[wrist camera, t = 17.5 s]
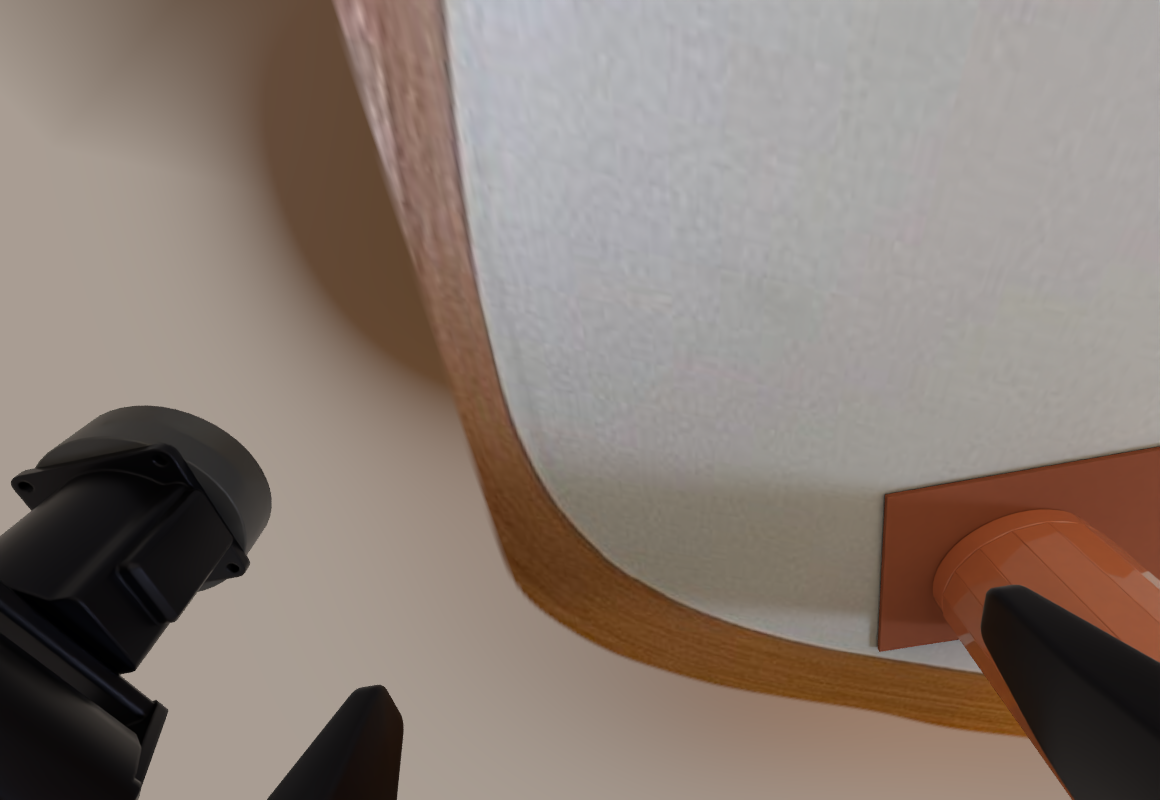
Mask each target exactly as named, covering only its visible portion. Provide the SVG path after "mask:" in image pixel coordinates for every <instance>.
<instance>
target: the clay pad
mask: <svg viewBox="0 0 1160 800" xmlns="http://www.w3.org/2000/svg"><path fill="white" fill-rule="evenodd" d="M1036 509H1053V510H1061V511H1065V512H1070V513H1072V514H1075V515H1077V516H1080V517H1081V518H1083V519H1085V520H1086V521H1087V522H1088V523H1090V524H1091V525H1092V526H1093V527H1094V528H1096V529H1097V530H1098V531H1099V532H1101V533H1103V534H1105V535H1106V536H1107V537H1109V538H1110V539H1111V540H1112V541H1113V542H1115V543H1116V544H1117V545H1118V546H1119V547H1120V548H1122V549H1123V550H1124V551H1125V552H1126V553H1128V554H1129V555H1130V556H1131V557H1132V558H1134V559H1135V560H1136V561H1137V562H1138V563H1139V564H1141V565H1142V566H1143V567H1144V568H1145V569H1147V570H1148V571H1149V572H1150V573H1151V574H1152V575H1154V576H1155V577H1156V578H1157V579H1158V580H1160V447H1154V448H1148V449H1143V450H1137V451H1131V452H1126V453H1120V454H1114V455H1108V456H1103V457H1097V458H1091V459H1085V460H1080V461H1074V462H1068V463H1063V464H1057V465H1051V466H1045V467H1040V468H1034V469H1028V470H1023V471H1017V472H1011V473H1005V474H1000V475H994V476H988V477H983V478H977V479H971V480H965V481H960V482H954V483H948V484H942V485H937V486H931V487H925V488H920V489H914V490H908V491H902V492H897V493H891V494H886V495H885V508H884V528H883V548H882V569H881V589H880V609H879V629H878V650H879V652H881V651H887V650H894V649H900V648H907V647H913V646H920V645H926V644H933V643H939V642H946V641H952V640H959V638H958V637H957V635H956V634H955V632H954V631H953V630H952V628H951V627H950V625H949V624H948V622H947V621H946V620H945V618H944V616H943V614H942V613H941V611H940V610H939V608H938V607H937V605H936V603H935V601H934V598H933V591H932V588H933V580H934V576H935V573H936V571H937V568H938V567H939V565H940V563H941V561H942V560H943V558H944V557H945V556H946V555H947V553H948V552H949V551H950V550H951V549H952V548H953V547H954V546H955V545H956V544H957V543H958V542H959V541H960V540H962V539H963V538H964V537H966V536H967V535H968V534H970V533H971V532H973V531H974V530H976V529H978V528H979V527H981V526H983V525H985V524H987V523H989V522H991V521H993V520H996V519H998V518H1001V517H1003V516H1006V515H1010V514H1013V513H1017V512H1022V511H1027V510H1036Z"/></svg>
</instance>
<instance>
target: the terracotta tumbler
mask: <svg viewBox="0 0 1160 800" xmlns="http://www.w3.org/2000/svg"><path fill="white" fill-rule="evenodd" d="M1007 585H1022V586H1024V587H1027V588H1029V589H1031V590H1032V591H1034V592H1036V593H1038V594H1039V595H1041V596H1043V597H1045V598H1046V599H1048V600H1050V601H1052V602H1054V603H1055V604H1057V605H1059V606H1061V607H1062V608H1064V609H1066V610H1068V611H1069V612H1071V613H1073V614H1075V615H1077V616H1078V617H1080V618H1082V619H1084V620H1085V621H1087V622H1089V623H1091V624H1092V625H1094V626H1096V627H1098V628H1100V629H1101V630H1103V631H1105V632H1107V633H1108V634H1110V635H1112V636H1114V637H1115V638H1117V639H1119V640H1121V641H1123V642H1124V643H1126V644H1128V645H1130V646H1131V647H1133V648H1135V649H1137V650H1138V651H1140V652H1142V653H1144V654H1146V655H1147V656H1149V657H1151V658H1153V659H1154V660H1156V661H1158V662H1160V580H1158V579H1157V578H1156V577H1155V576H1154V575H1152V574H1151V573H1150V572H1149V571H1148V570H1147V569H1145V568H1144V567H1143V566H1142V565H1141V564H1139V563H1138V562H1137V561H1136V560H1135V559H1134V558H1132V557H1131V556H1130V555H1129V554H1128V553H1126V552H1125V551H1124V550H1123V549H1122V548H1120V547H1119V546H1118V545H1117V544H1116V543H1115V542H1113V541H1112V540H1111V539H1110V538H1109V537H1107V536H1106V535H1105V534H1103V533H1101V532H1099V531H1098V530H1097V529H1096V528H1094V527H1093V526H1092V525H1091V524H1090V523H1088V522H1087V521H1086V520H1085V519H1083V518H1081V517H1080V516H1077V515H1075V514H1072V513H1070V512H1065V511H1061V510H1053V509H1036V510H1027V511H1022V512H1017V513H1013V514H1010V515H1006V516H1003V517H1001V518H998V519H996V520H993V521H991V522H989V523H987V524H985V525H983V526H981V527H979V528H978V529H976V530H974V531H973V532H971V533H970V534H968V535H967V536H966V537H964V538H963V539H962V540H960V541H959V542H958V543H957V544H956V545H955V546H954V547H953V548H952V549H951V550H950V551H949V552H948V553H947V555H946V556H945V557H944V558H943V560H942V561H941V563H940V565H939V567H938V568H937V571H936V573H935V576H934V580H933V588H932V591H933V598H934V601H935V603H936V605H937V607H938V608H939V610H940V611H941V613H942V614H943V616H944V618H945V620H946V621H947V622H948V624H949V625H950V627H951V628H952V630H953V631H954V632H955V634H956V635H957V637H958V638H959V639H960V641H961V642H962V644H963V645H964V647H965V648H966V649H967V651H968V652H969V654H970V655H971V657H972V658H973V659H974V661H975V662H976V664H977V665H978V667H979V668H980V669H981V671H982V672H983V674H984V675H985V676H986V678H987V679H988V681H989V682H990V684H991V685H992V686H993V688H994V689H995V691H996V692H997V694H998V695H999V696H1000V698H1001V699H1002V701H1003V702H1004V703H1005V705H1006V706H1007V708H1008V709H1009V711H1010V712H1011V713H1012V715H1013V716H1014V718H1015V719H1016V721H1017V722H1018V723H1019V725H1020V726H1021V728H1022V729H1023V731H1024V732H1025V733H1026V735H1027V736H1028V738H1029V739H1030V740H1031V742H1032V743H1033V745H1034V746H1035V748H1036V749H1037V750H1038V752H1039V753H1040V755H1041V756H1042V757H1043V759H1044V760H1045V762H1046V763H1047V765H1048V766H1049V768H1050V769H1051V770H1052V772H1053V773H1054V774H1055V776H1056V777H1057V779H1058V780H1059V782H1060V783H1061V785H1062V786H1063V787H1064V789H1065V790H1066V792H1067V793H1068V795H1069V796H1070V797H1071V799H1072V800H1074V798H1073V797H1072V795H1071V794H1070V792H1069V791H1068V789H1067V788H1066V786H1065V785H1064V783H1063V782H1062V780H1061V779H1060V777H1059V776H1058V774H1057V773H1056V771H1055V770H1054V768H1053V767H1052V765H1051V763H1050V762H1049V760H1048V759H1047V757H1046V756H1045V754H1044V752H1043V751H1042V749H1041V747H1040V745H1039V743H1038V742H1037V740H1036V738H1035V736H1034V735H1033V733H1032V731H1031V729H1030V727H1029V725H1028V724H1027V722H1026V720H1025V718H1024V716H1023V714H1022V712H1021V710H1020V709H1019V707H1018V705H1017V703H1016V701H1015V699H1014V697H1013V696H1012V694H1011V692H1010V690H1009V688H1008V686H1007V684H1006V683H1005V681H1004V679H1003V677H1002V675H1001V673H1000V671H999V669H998V668H997V666H996V664H995V662H994V660H993V658H992V656H991V655H990V653H989V651H988V649H987V647H986V645H985V643H984V641H983V638H982V635H981V629H980V626H981V619H982V613H983V607H984V602H985V596H986V592H987V591H988V590H989V589H991V588H994V587H1000V586H1007Z"/></svg>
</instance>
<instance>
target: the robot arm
mask: <svg viewBox="0 0 1160 800" xmlns="http://www.w3.org/2000/svg"><path fill="white" fill-rule="evenodd" d="M160 455H162V456H164V457H165V458H166V459H167V460H166V459H164V458H162V457H161V456H160ZM11 485H12V487H13V489H14V490H15V492H16V493H17V494H18V495H19V496H20V497H21V499H23V501H24V502H25V503H26V505H27V506H28V507H29V508H30V509H31V510H32V511H31V512H30V513H28V514H27V515H26V516H25V517H24V518H23V519H21V520H20V521H19V522H17V523H16V524H15V525H14V526H13V527H11V528H10V529H9V530H7V531H6V532H5V533H4V534H2V535H1V536H0V800H138V798H139V796H140V791H141V787H142V784H143V781H144V778H145V775H146V773H147V770H148V767H149V764H150V762H151V759H152V756H153V753H154V750H155V747H156V744H157V742H158V739H159V736H160V733H161V730H162V728H163V724H164V722H165V719H166V716H167V713H168V709H167V708H165V707H164V706H163V705H162V704H161V703H159V702H158V701H157V700H155V701H151V700H150V699H149V698H148V697H146V696H145V695H144V694H143V693H141V692H140V691H139V690H138V689H136V688H135V687H134V686H133V685H131V684H130V683H129V682H128V681H126V680H125V679H124V678H123V677H121V676H120V675H121V674H124V673H130V672H133V671H135V670H136V669H137V667H138V666H139V665H140V663H141V662H142V660H143V659H144V658H145V656H146V655H147V654H148V652H149V651H150V650H151V648H152V647H153V645H154V644H155V643H156V641H157V640H158V639H159V637H160V636H161V634H162V633H163V632H164V630H165V629H166V628H167V626H168V625H169V623H171V622H175V621H176V620H177V619H178V618H179V617H180V615H181V614H182V613H183V611H184V610H185V608H186V607H187V606H188V604H189V603H190V601H191V600H192V599H193V597H194V596H195V595H196V593H197V592H198V590H199V589H200V588H201V586H202V585H203V583H206V582H212V581H218V580H223V579H229V578H234V577H239V576H242V575H243V574H244V573H245V572H246V570H247V568H248V567H249V565H250V561H249V559H248V557H247V556H246V554H245V553H244V551H243V550H242V548H241V546H240V545H239V543H238V542H237V540H236V539H235V537H234V536H233V534H232V533H231V531H230V529H229V528H228V526H227V525H226V523H225V522H224V520H223V519H222V517H221V516H220V514H219V513H218V511H217V509H216V508H215V506H214V505H213V503H212V502H211V500H210V499H209V497H208V496H207V494H206V493H205V491H204V489H203V488H202V486H201V485H200V483H199V482H198V480H197V479H196V477H195V476H194V474H193V472H192V471H191V469H190V468H189V466H188V465H187V463H186V462H185V460H184V459H183V457H182V456H181V454H180V452H179V451H178V450H177V449H176V448H175V447H173V446H172V445H169V444H166V443H159V444H154V445H149V446H144V447H139V448H134V449H129V450H124V451H119V452H114V453H109V454H104V455H99V456H94V457H89V458H84V459H79V460H74V461H69V462H64V463H59V464H54V465H49V466H45V467H40V468H35V469H30V470H25V471H23V472H21V473H20V474H18V475H17V476H16V477H14V478H13V479H12V481H11ZM980 629H981V635H982V638H983V641H984V643H985V645H986V647H987V649H988V651H989V653H990V655H991V656H992V658H993V660H994V662H995V664H996V666H997V668H998V669H999V671H1000V673H1001V675H1002V677H1003V679H1004V681H1005V683H1006V684H1007V686H1008V688H1009V690H1010V692H1011V694H1012V696H1013V697H1014V699H1015V701H1016V703H1017V705H1018V707H1019V709H1020V710H1021V712H1022V714H1023V716H1024V718H1025V720H1026V722H1027V724H1028V725H1029V727H1030V729H1031V731H1032V733H1033V735H1034V736H1035V738H1036V740H1037V742H1038V743H1039V745H1040V747H1041V749H1042V751H1043V752H1044V754H1045V756H1046V757H1047V759H1048V760H1049V762H1050V763H1051V765H1052V767H1053V768H1054V770H1055V771H1056V773H1057V774H1058V776H1059V777H1060V779H1061V780H1062V782H1063V783H1064V785H1065V786H1066V788H1067V789H1068V791H1069V792H1070V794H1071V795H1072V797H1073V798H1074V800H1160V662H1158V661H1156V660H1154V659H1153V658H1151V657H1149V656H1147V655H1146V654H1144V653H1142V652H1140V651H1138V650H1137V649H1135V648H1133V647H1131V646H1130V645H1128V644H1126V643H1124V642H1123V641H1121V640H1119V639H1117V638H1115V637H1114V636H1112V635H1110V634H1108V633H1107V632H1105V631H1103V630H1101V629H1100V628H1098V627H1096V626H1094V625H1092V624H1091V623H1089V622H1087V621H1085V620H1084V619H1082V618H1080V617H1078V616H1077V615H1075V614H1073V613H1071V612H1069V611H1068V610H1066V609H1064V608H1062V607H1061V606H1059V605H1057V604H1055V603H1054V602H1052V601H1050V600H1048V599H1046V598H1045V597H1043V596H1041V595H1039V594H1038V593H1036V592H1034V591H1032V590H1031V589H1029V588H1027V587H1024V586H1022V585H1007V586H1000V587H994V588H991V589H989V590H988V591H987V592H986V596H985V602H984V607H983V613H982V619H981V626H980ZM402 741H403V720H402V716H401V714H400V712H399V710H398V709H397V707H396V705H395V703H394V702H393V700H392V698H391V696H390V695H389V693H388V691H387V689H386V688H385V687H384V686H382V685H374V686H368V687H362V688H358V689H357V690H355V691H354V692H353V693H352V694H351V695H350V696H349V697H348V699H347V700H346V701H345V702H344V704H343V705H342V706H341V707H340V709H339V710H338V711H337V712H336V714H335V715H334V716H333V717H332V719H331V720H330V721H329V722H328V724H327V725H326V726H325V728H324V729H323V730H322V731H321V732H320V734H319V735H318V736H317V737H316V739H315V740H314V741H313V742H312V744H311V745H310V746H309V747H308V749H307V750H306V751H305V752H304V754H303V755H302V756H301V758H300V759H299V760H298V761H297V763H296V764H295V765H294V766H293V768H292V769H291V770H290V771H289V773H288V774H287V775H286V776H285V778H284V779H283V780H282V781H281V783H280V784H279V785H278V786H277V788H276V789H275V790H274V792H273V793H272V794H271V795H270V796H269V798H268V799H267V800H397V791H398V781H399V771H400V761H401V751H402Z"/></svg>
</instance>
